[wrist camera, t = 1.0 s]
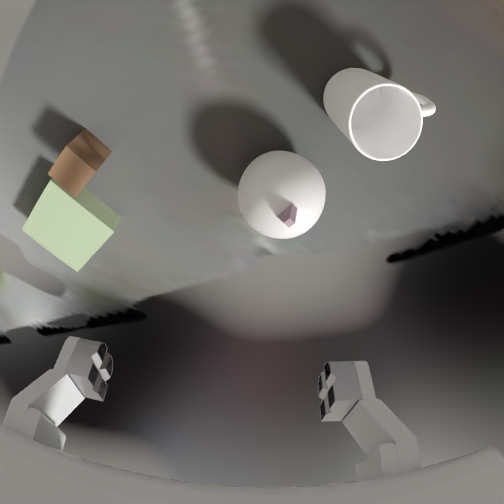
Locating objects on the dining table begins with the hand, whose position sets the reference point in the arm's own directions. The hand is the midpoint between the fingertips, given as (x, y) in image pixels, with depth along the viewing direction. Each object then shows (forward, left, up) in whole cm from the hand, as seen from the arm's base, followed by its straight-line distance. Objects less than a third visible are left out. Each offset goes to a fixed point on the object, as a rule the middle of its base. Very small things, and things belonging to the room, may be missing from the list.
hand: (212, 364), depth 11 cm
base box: (-5, -28, -32) cm, 43 cm away
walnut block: (-9, -17, -32) cm, 37 cm away
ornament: (+11, -1, -32) cm, 34 cm away
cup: (+9, +15, -32) cm, 37 cm away
